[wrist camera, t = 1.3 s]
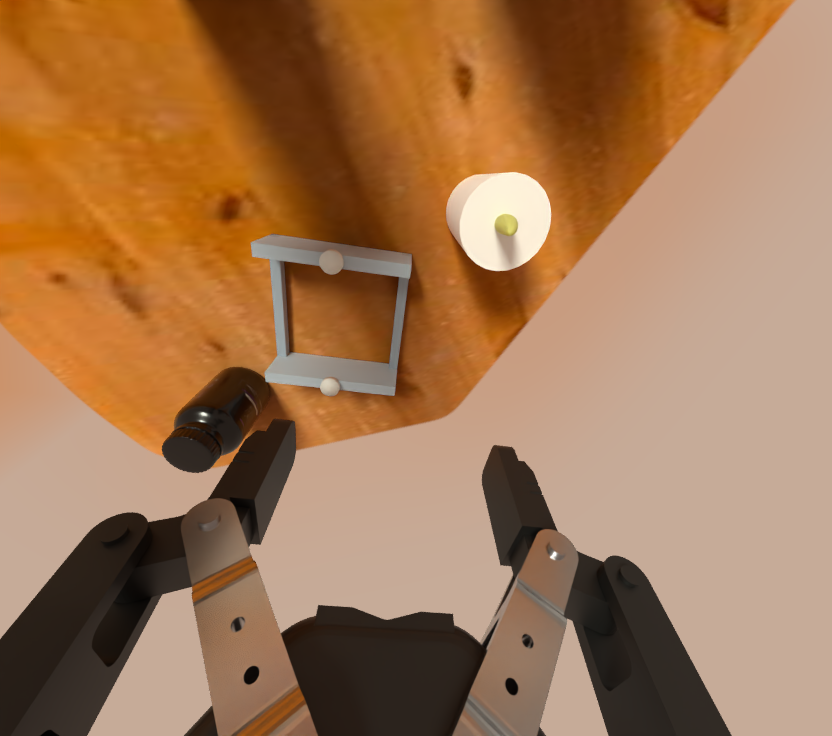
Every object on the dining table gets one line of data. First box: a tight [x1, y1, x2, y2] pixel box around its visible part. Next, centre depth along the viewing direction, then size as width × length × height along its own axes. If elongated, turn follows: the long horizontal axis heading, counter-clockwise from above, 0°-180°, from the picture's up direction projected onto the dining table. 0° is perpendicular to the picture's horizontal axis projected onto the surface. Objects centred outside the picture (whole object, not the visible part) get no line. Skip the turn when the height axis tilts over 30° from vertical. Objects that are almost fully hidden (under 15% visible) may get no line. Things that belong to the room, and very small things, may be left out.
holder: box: [251, 234, 412, 396], centre depth 34 cm, size 15×14×6 cm
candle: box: [446, 172, 551, 271], centre depth 25 cm, size 6×6×15 cm
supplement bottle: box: [162, 367, 270, 473], centre depth 36 cm, size 7×7×12 cm
